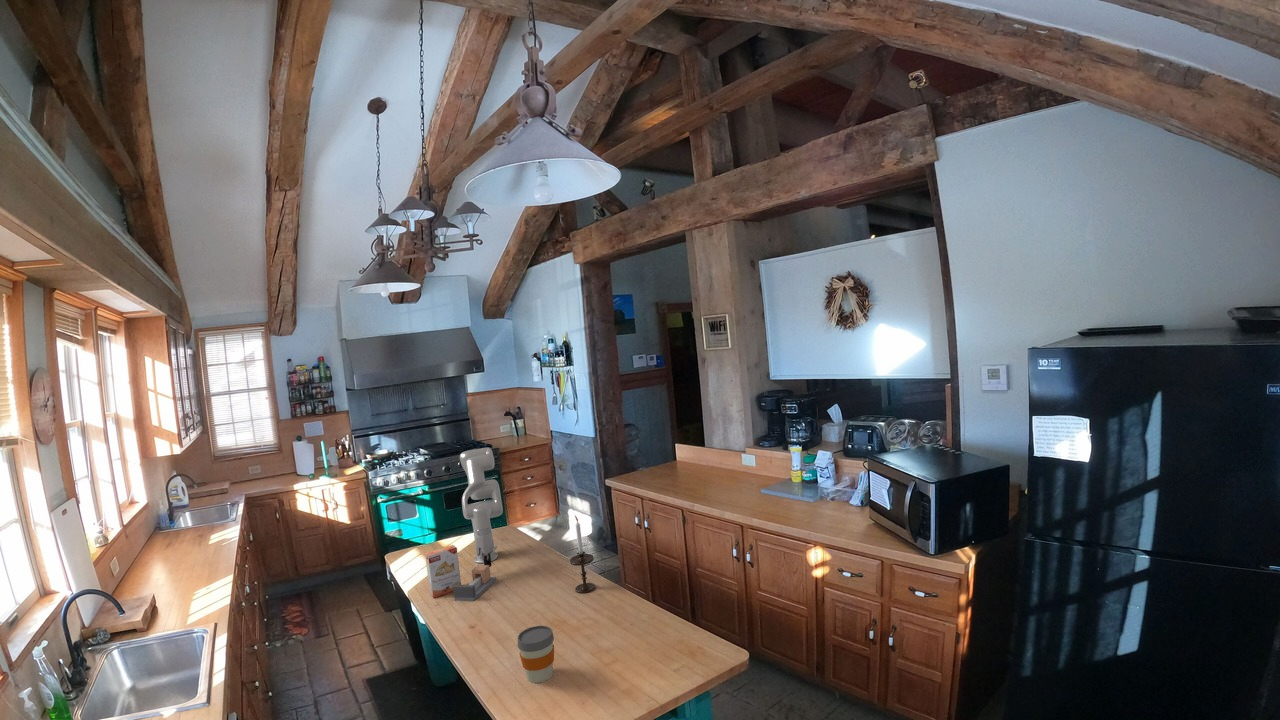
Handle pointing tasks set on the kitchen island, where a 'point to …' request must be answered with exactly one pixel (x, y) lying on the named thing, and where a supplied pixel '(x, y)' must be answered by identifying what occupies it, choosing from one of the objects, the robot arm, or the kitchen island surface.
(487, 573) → the slider
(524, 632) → the reusable coffee cup
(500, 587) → the kitchen island surface
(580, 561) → the candlestick
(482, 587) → the track
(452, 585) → the cracker box
